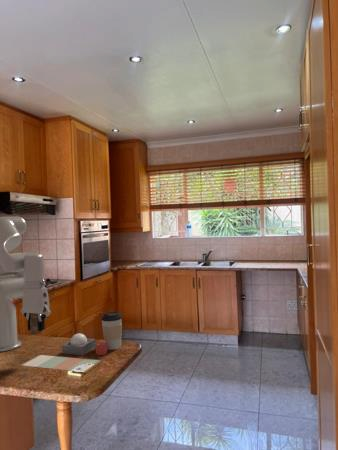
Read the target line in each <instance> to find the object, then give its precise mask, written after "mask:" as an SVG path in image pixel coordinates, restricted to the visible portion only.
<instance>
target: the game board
mask: <svg viewBox="0 0 338 450" xmlns="http://www.w3.org/2000/svg"><path fill="white" fill-rule="evenodd" d="M102 361H103V360H101V359H100V360H99V359H91V358H90V359H89V358H80V357H79V358H78V357H77V358H76V357H70V356H69V357H67V356H56V355H55V356H53V355H47V354H38V355H36V356H34V357H33V358H31V359H29V360H27V361H25V362H24V363H21V364H20V366H23V367H24V366H25V367H32V368H33V367H35V368H40V369H41V368H44V369H51V370H52V369H53V370H61V371H62V370H63V371H71V370H72V369H74V368H75V367H77V366H79V365H82V364H86V363H92V364H94V365H93V366H92V367H91V368H90V369H92V368H93V367H94V368H96V367H97V366H98V365H100V364H102ZM95 366H96V367H95ZM94 368H93V369H94ZM90 369H88V370H86V371H85V372H84V373H85V374H87V372H88V373H89V372H90V371H91V370H90ZM93 369H92V370H93ZM89 370H90V371H89ZM71 372H72V371H71ZM84 373H83V374H84Z"/></svg>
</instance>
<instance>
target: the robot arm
mask: <svg viewBox="0 0 338 450" xmlns="http://www.w3.org/2000/svg"><path fill="white" fill-rule="evenodd" d="M26 231H27V222H26V220H25V219H24V217H21V216H18V215H17V216H15V215H13V216H0V352H6V351H7V352H8V351H12V350H15V349H17V348H19V347H20V346H22V341H21V340H18V329H17V327H18V323H17V308H16V305H15V304H14V303H13V302H12V301H11V299H13V298H17V297H18V298H19V297H22V301H21V302H22V308H21V309H20V314H23V316H24V318H25V320H26V321H27V331H30V318H31V316H30V315H31V313H34V314H38V318H39V321H38V331H42V332H43V331H44V330H45V329H46V325H45V320H46V319H47V318H48V316H50V315H51V314H52V312H51V310H50V308H51V307H50V298H49V293H48V289H47V287H46V286H47V282H45V262H44V255H43V254H42V253H36V252H34V251H33V252H31V251H29V252H18V253H9V252H11V251H13V250H15V249H17V247H19V246H20V245H21V243H22V241H23V238H22V235H23V234H24V233H25V232H26Z"/></svg>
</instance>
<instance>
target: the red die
mask: <svg viewBox="0 0 338 450" xmlns="http://www.w3.org/2000/svg"><path fill="white" fill-rule="evenodd" d="M95 344H96V347H95V355H96V356H106V355H107V353H108V349H107V342H105V341H99V342H97V343H95Z"/></svg>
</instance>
